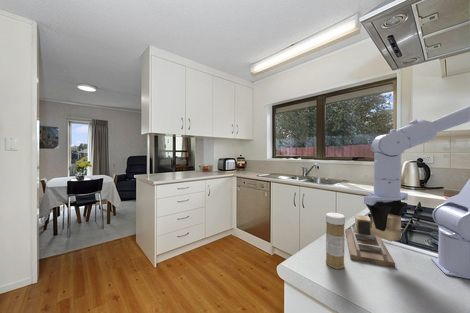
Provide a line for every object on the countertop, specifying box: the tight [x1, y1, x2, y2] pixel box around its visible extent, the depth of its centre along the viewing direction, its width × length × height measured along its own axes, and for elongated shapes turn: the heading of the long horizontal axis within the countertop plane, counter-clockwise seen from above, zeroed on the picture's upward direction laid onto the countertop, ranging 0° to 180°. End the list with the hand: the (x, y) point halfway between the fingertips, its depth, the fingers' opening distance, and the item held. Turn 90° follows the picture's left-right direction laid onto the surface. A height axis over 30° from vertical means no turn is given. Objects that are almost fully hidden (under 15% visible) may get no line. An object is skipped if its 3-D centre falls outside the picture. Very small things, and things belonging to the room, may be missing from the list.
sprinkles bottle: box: [325, 212, 346, 270], centre depth 53 cm, size 5×5×14 cm
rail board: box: [344, 214, 396, 268], centre depth 63 cm, size 10×20×7 cm, turn 155°
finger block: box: [370, 214, 402, 243], centre depth 55 cm, size 4×6×6 cm
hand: (385, 228), depth 54 cm, fingers closed on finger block, 4 cm apart
